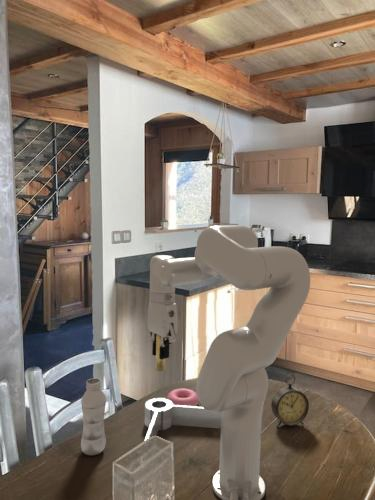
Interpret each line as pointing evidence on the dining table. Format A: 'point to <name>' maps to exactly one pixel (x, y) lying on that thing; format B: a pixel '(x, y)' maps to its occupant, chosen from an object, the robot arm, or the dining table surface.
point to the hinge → (177, 416)
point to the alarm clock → (290, 405)
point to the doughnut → (183, 397)
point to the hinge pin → (159, 363)
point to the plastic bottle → (93, 418)
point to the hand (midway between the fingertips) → (160, 355)
